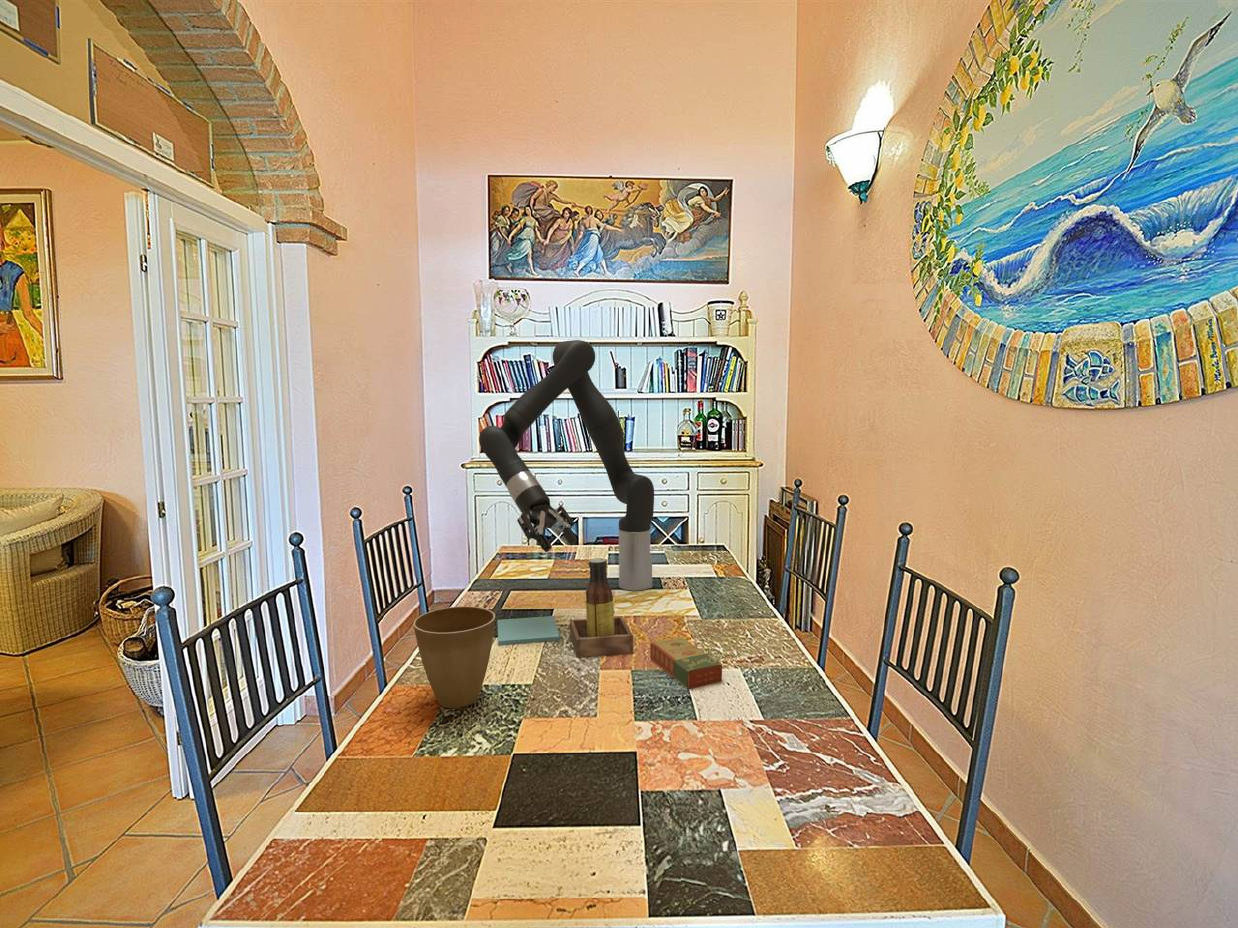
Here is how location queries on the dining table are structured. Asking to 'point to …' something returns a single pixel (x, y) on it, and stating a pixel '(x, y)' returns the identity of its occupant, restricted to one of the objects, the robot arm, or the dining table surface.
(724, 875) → the dining table surface
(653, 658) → the carton
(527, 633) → the teal board
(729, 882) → the dining table surface
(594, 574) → the sauce bottle
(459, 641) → the plant pot
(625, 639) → the frame
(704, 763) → the dining table surface
